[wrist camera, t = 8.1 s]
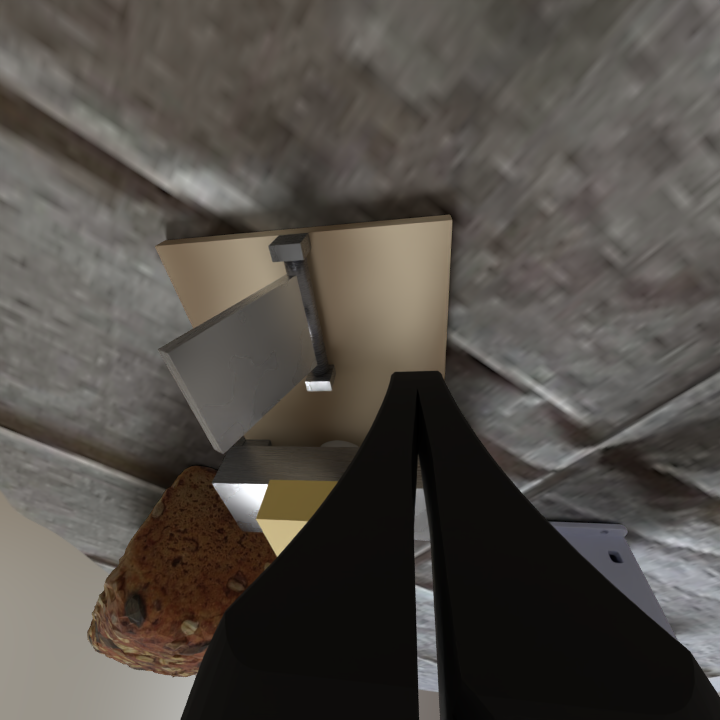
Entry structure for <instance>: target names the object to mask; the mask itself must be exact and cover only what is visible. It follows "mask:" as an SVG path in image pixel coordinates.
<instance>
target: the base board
mask: <svg viewBox="0 0 720 720" xmlns="http://www.w3.org/2000/svg"><path fill="white" fill-rule="evenodd" d="M299 233H309V238H310V243H311V250H310V251H309V253H308V254H307V256H306V258H307V263H308V268H309V272H310V277H311V282H312V287H313V292H314V296H315V301H316V306H317V311H318V316H319V320H320V325H321V330H322V335H323V340H324V344H325V349H326V354H327V359H328V364H329V365H331V364H334V366H335V371H336V376H335V380H334V384H333V388H332V391H307V387H306V384H305V380H306V378H307V376H305V377H304V378H303V379H302V380H301V381H300V382H299V383H298V384H297V385H296V386H295V387H294V388H293V389H292V390H291V391H290V392H289V393H288V394H286V395H285V396H284V397H283V398H282V399H281V400H280V401H279V402H278V403H277V404H276V405H275V406H274V407H273V408H272V409H271V410H270V411H269V412H267V413H266V414H265V415H264V416H263V417H262V418H261V419H260V420H259V421H258V422H257V423H256V424H255V425H254V426H253V427H252V428H251V429H250V430H249V431H247V432H246V433H245V434H244V437H245V439H250V440H270V441H271V444H272V446H295V447H320V446H321V445H322V444H324V443H326V442H329V441H334V440H341V441H347V442H350V443H353V444H355V445H357V446H358V447H360V446H361V444H362V443H363V441H364V439H365V437H366V435H367V434H368V432H369V430H370V428H371V426H372V424H373V422H374V420H375V418H376V415H377V413H378V411H379V409H380V407H381V405H382V402H383V400H384V397H385V395H386V392H387V389H388V386H389V383H390V378H391V375H392V374H393V373H394V372H406V371H439V372H440V373H441V374H442V376H443V379H444V380H445V359H446V339H447V319H448V298H449V278H450V258H451V237H452V218H451V216H450V215H439V216H428V217H417V218H406V219H395V220H384V221H373V222H362V223H351V224H340V225H329V226H318V227H307V228H296V229H285V230H274V231H263V232H252V233H240V234H229V235H218V236H207V237H196V238H185V239H174V240H165V241H164V242H162V243H160V244H158V245H156V246H155V248H156V250H157V252H158V254H159V256H160V258H161V260H162V262H163V265H164V267H165V269H166V271H167V273H168V275H169V277H170V280H171V282H172V284H173V286H174V288H175V290H176V292H177V294H178V297H179V299H180V301H181V303H182V305H183V307H184V309H185V311H186V314H187V316H188V318H189V320H190V322H191V324H192V326H193V328H195V327H197V326H199V325H200V324H202V323H204V322H206V321H207V320H209V319H211V318H212V317H214V316H216V315H217V314H219V313H221V312H223V311H224V310H226V309H228V308H229V307H231V306H233V305H235V304H236V303H238V302H240V301H241V300H243V299H245V298H247V297H248V296H250V295H252V294H253V293H255V292H257V291H259V290H260V289H262V288H264V287H265V286H267V285H269V284H271V283H272V282H274V281H276V280H277V279H279V278H281V277H282V276H284V275H286V274H287V273H286V269H285V265H284V261H283V262H272V258H271V254H270V251H269V247H268V246H269V245H270V244H271V243H272V242H273V241H274V240H275V239H276V238H277V237H278V236H279V235H288V234H299Z"/></svg>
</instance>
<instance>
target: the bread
mask: <svg viewBox="0 0 720 720" xmlns="http://www.w3.org/2000/svg"><path fill="white" fill-rule="evenodd" d="M216 473H217V470H214V469H212V468H209V467H203V466H199V465H197V466H191V467H189V468H187V469H185V470H184V471H183V472H182V473H181V474H180V475H178V477H177V479H176V480H175V482H174V483H173V484H172V486H171V487H169V488H167V489H166V491H165V492H164V493H163V496H162V498H161V499H160V500H159V501H158V503H157V504H156V505H155V506H154V508H153V510H152V512H151V513H150V515H149V516H148V518H147V519H146V520H145V522H144V523H143V524H142V526H141V527H140V528H139V529H138V531H137V532H136V534H135V535H134V536H133V538H132V539H131V541H130V542H129V544H128V546H127V548H126V551H125V554H124V555H123V556H122V557H121V558H120V559H119V565H118V567H117V568H115V569H114V570H113V571H112V572H111V573H110V575H109V576H108V577H107V579H106V581H105V584H104V591H103V592H102V593H101V594H100V595H99V599H98V601H97V604H96V606H95V609H94V611H93V612H92V616H93V620H92V622H91V626H90V628H89V630H88V632H87V633H88V640H89V641H90V643H91V645H92V646H93V648H94V649H95V651H97V652H99V653H101V654H105V655H106V656H107V657H109V658H113V659H114V660H116V661H118V662H120V663H122V664H127V665H128V666H129V667H131V668H133V669H136V670H146V671H153V672H155V673H158V674H164V675H171V676H173V677H175V676H178V677H188V676H191V675H194V674H196V673H198V670H199V667H200V664H201V662H202V659H203V656H204V654H205V652H206V650H207V648H208V646H209V644H210V642H211V639H212V637H213V635H214V633H215V631H216V629H217V626H218V624H219V622H220V620H221V618H222V616H223V615H224V613H225V611H226V610H227V608H228V607H229V606H230V605H231V604H232V603H233V602H234V601H235V600H236V599H237V598H238V597H239V596H240V595H241V594H242V593H243V592H244V591H245V590H246V589H247V588H248V587H249V586H250V585H251V584H252V583H253V582H254V581H255V580H256V579H257V578H258V577H259V575H260V574H261V573H262V572H263V571H264V570H265V569H266V568H267V567H268V566H269V565H270V564H271V563H272V562H273V561H274V560H275V559H276V558H277V556H276V554H275V552H274V550H273V549H272V547H271V545H270V543H269V541H268V540H267V538H266V536H265V534H264V533H263V532H243V531H242V530H241V529H240V527H239V526H238V524H237V522H236V521H235V519H234V518H233V516H232V514H231V513H230V511H229V510H228V508H227V507H226V505H225V503H224V502H223V500H222V499H221V497H220V496H219V494H218V492H217V491H216V489H215V488H214V486H213V484H212V481H213V479H214V477H215V475H216Z"/></svg>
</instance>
